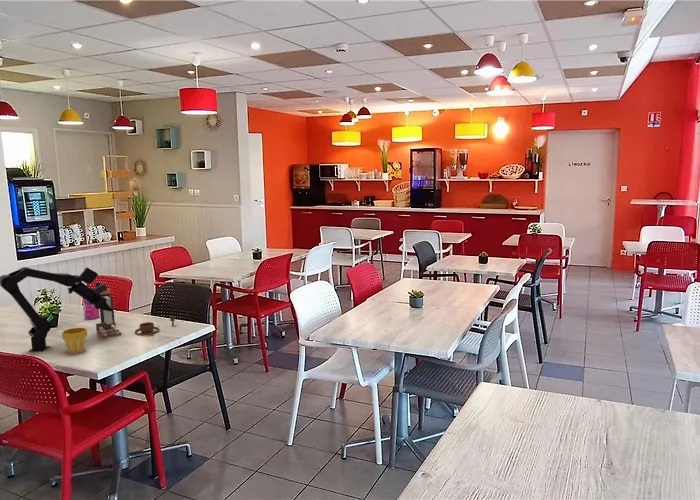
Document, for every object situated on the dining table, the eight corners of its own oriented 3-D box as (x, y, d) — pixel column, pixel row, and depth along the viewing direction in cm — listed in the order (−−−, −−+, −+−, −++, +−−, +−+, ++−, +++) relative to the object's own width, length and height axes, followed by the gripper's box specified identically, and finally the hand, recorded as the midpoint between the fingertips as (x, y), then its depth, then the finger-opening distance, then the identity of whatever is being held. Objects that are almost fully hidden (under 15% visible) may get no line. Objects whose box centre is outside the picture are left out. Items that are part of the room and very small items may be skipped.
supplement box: (83, 319, 294) (81, 299, 292) (91, 316, 299) (90, 297, 298) (92, 320, 292) (90, 300, 290) (99, 317, 298) (98, 297, 296)
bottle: (100, 325, 282) (96, 289, 279) (113, 322, 286) (110, 287, 283) (102, 327, 277) (99, 291, 274) (116, 325, 281) (113, 289, 278)
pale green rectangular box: (112, 323, 263) (110, 298, 261) (107, 324, 261) (105, 299, 259) (109, 320, 268) (107, 296, 266) (104, 321, 266) (102, 296, 264)
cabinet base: (121, 335, 264) (120, 325, 263) (102, 338, 259) (101, 329, 258) (115, 329, 274) (114, 320, 273) (96, 333, 268) (95, 323, 267)
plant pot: (92, 350, 242) (90, 329, 241) (69, 356, 235) (66, 335, 233) (83, 345, 249) (81, 325, 248) (60, 351, 242) (58, 330, 240)
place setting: (136, 329, 276) (135, 318, 275) (175, 325, 282) (175, 315, 281) (133, 339, 259) (132, 328, 258) (175, 334, 265) (174, 323, 264)
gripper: (100, 281, 251) (126, 300, 260) (91, 275, 266) (116, 293, 274) (84, 300, 248) (110, 318, 256) (76, 293, 262) (101, 310, 271)
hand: (110, 309), depth 264 cm, fingers closed on pale green rectangular box, 6 cm apart
